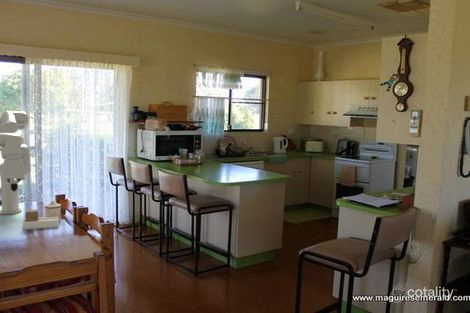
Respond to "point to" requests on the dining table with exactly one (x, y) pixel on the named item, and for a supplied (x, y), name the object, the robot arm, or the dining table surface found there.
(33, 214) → the walnut block
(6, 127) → the robot arm
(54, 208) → the teacup with lid
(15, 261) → the dining table surface
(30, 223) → the cream rectangular tray
